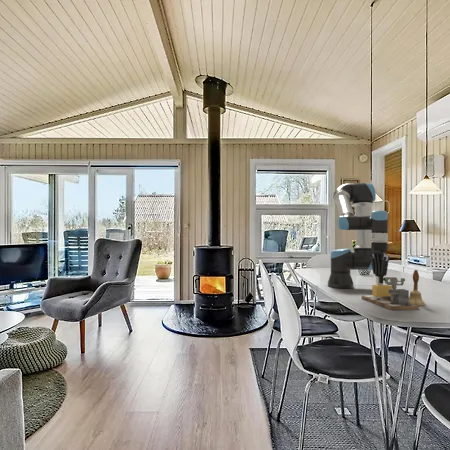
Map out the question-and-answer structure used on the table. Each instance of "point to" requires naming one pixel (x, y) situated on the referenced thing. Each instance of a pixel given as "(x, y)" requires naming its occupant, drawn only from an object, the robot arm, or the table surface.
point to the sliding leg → (381, 290)
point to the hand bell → (416, 291)
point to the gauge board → (393, 300)
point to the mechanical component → (393, 281)
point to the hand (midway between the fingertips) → (379, 289)
